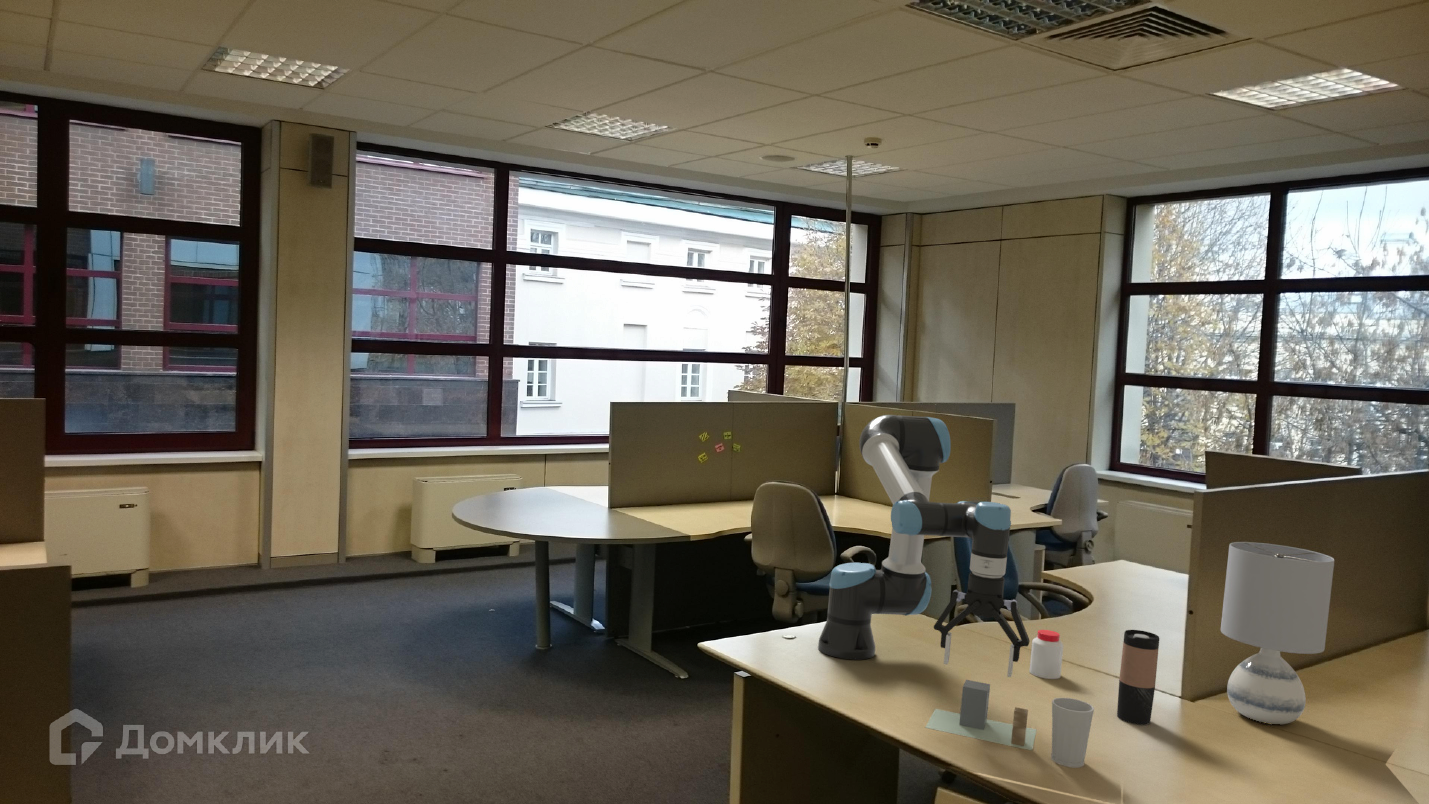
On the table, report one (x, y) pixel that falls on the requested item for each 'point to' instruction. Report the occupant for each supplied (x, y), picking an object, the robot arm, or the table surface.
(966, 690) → the tall gray brick
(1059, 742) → the cup
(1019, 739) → the oak post
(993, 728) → the board
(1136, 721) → the travel mug
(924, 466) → the robot arm
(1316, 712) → the table surface
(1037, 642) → the pill bottle
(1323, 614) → the lamp
